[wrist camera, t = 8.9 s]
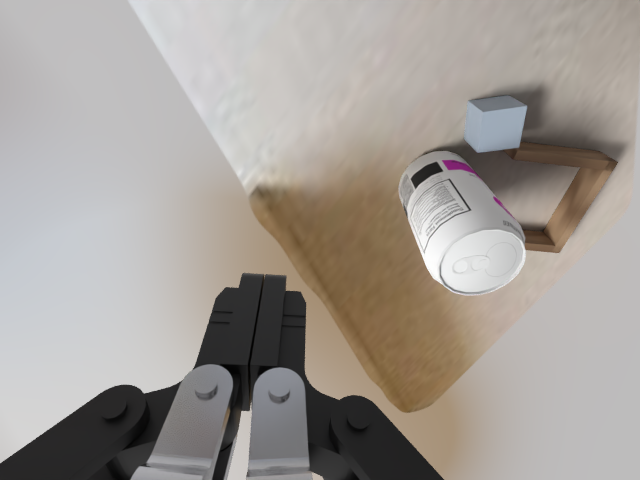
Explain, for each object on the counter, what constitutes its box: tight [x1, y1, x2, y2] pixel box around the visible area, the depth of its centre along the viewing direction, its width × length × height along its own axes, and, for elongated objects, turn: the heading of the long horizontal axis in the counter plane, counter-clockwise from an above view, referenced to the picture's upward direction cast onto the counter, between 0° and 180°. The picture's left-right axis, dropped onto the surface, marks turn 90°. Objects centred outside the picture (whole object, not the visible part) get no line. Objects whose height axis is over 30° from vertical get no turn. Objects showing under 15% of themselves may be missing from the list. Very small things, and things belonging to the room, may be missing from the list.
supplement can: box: [399, 151, 526, 295], centre depth 35 cm, size 8×8×15 cm
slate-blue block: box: [464, 95, 527, 153], centre depth 36 cm, size 4×4×4 cm
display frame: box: [503, 142, 618, 253], centre depth 41 cm, size 12×11×3 cm
